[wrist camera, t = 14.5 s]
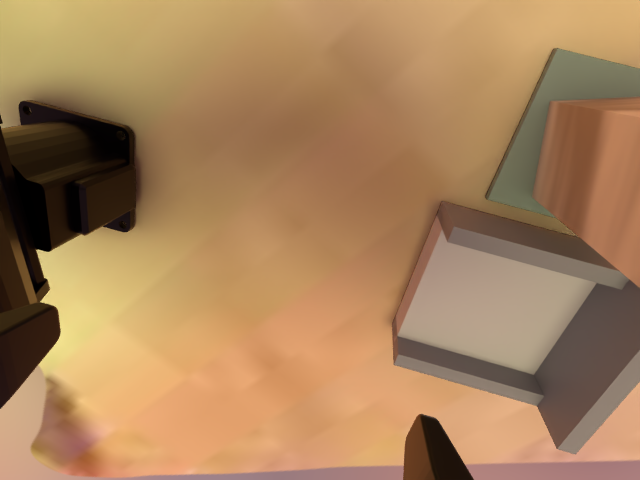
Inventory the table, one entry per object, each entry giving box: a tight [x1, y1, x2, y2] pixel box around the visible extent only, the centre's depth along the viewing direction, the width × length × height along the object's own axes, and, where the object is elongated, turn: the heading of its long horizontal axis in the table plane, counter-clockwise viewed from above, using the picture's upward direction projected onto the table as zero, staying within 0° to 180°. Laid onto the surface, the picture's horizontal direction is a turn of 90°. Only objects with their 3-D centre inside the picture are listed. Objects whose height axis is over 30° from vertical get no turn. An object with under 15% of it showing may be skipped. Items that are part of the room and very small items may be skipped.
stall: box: [392, 201, 640, 454], centre depth 18 cm, size 9×9×6 cm
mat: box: [486, 48, 640, 218], centre depth 17 cm, size 7×7×1 cm
